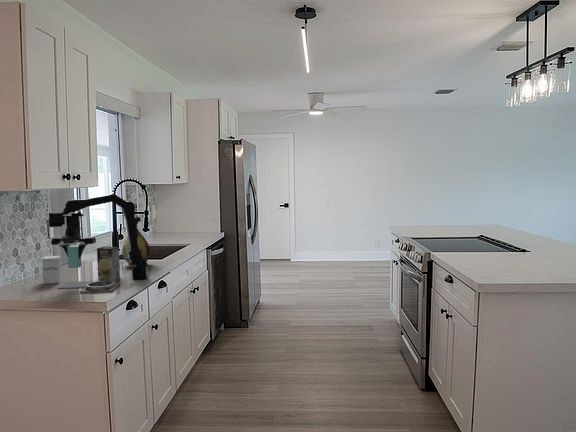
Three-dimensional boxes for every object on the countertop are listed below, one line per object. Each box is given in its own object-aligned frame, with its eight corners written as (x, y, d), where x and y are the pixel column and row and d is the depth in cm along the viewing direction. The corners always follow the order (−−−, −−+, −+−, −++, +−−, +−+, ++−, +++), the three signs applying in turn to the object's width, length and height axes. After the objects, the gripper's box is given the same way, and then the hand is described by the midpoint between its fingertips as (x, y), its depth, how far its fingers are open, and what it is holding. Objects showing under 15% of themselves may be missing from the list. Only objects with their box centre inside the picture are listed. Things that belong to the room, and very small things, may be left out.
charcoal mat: (92, 282, 227) (92, 281, 227) (84, 288, 215) (84, 287, 215) (67, 282, 226) (67, 281, 226) (57, 288, 214) (57, 287, 214)
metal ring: (117, 285, 220) (117, 280, 220) (110, 291, 208) (110, 286, 207) (91, 286, 218) (90, 281, 218) (82, 292, 206) (82, 287, 206)
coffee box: (97, 279, 233) (95, 248, 231) (105, 276, 239) (104, 246, 237) (112, 280, 230) (111, 248, 229) (120, 277, 236) (119, 246, 235)
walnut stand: (119, 284, 221) (119, 282, 221) (112, 292, 207) (112, 290, 207) (89, 285, 219) (89, 283, 219) (79, 293, 205) (79, 291, 205)
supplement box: (42, 284, 223) (41, 258, 222) (46, 281, 230) (44, 256, 229) (59, 283, 225) (57, 257, 224) (62, 279, 232) (60, 255, 231)
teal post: (81, 265, 222) (80, 245, 221) (78, 267, 217) (77, 246, 216) (71, 266, 221) (70, 245, 220) (68, 268, 217) (67, 247, 216)
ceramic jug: (129, 263, 275) (127, 213, 272) (154, 263, 274) (152, 213, 271) (116, 268, 258) (114, 216, 256) (143, 269, 257) (141, 216, 254)
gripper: (45, 228, 208) (47, 262, 210) (88, 227, 211) (89, 261, 212) (54, 225, 219) (56, 257, 221) (95, 225, 222) (96, 257, 223)
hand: (74, 258), depth 219 cm, fingers closed on teal post, 4 cm apart
